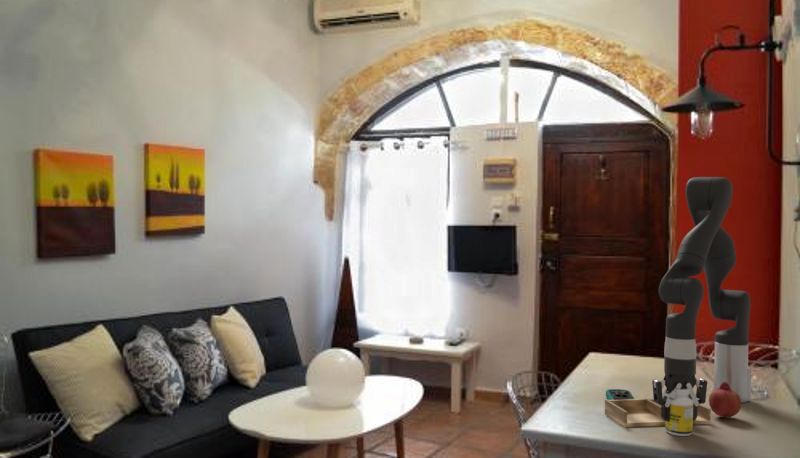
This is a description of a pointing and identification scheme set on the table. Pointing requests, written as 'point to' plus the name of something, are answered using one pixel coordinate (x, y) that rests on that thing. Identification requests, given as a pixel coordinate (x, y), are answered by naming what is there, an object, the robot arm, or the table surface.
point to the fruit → (725, 401)
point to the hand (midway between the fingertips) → (679, 420)
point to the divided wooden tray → (645, 413)
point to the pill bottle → (681, 414)
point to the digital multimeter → (618, 394)
